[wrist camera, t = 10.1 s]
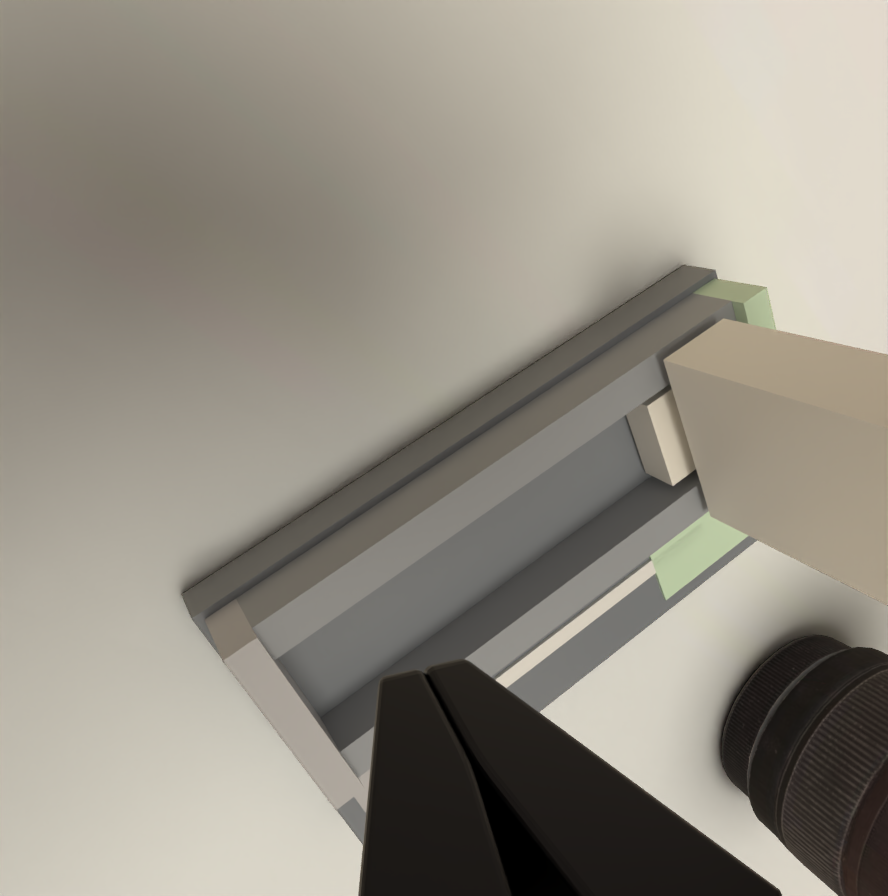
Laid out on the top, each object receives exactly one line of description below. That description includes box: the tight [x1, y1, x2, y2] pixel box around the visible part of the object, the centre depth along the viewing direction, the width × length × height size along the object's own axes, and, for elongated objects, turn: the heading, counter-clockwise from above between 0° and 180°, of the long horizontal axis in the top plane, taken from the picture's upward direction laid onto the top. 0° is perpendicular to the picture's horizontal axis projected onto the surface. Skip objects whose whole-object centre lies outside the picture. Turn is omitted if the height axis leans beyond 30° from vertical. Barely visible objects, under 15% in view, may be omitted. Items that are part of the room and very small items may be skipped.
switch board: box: [181, 265, 776, 844], centre depth 22 cm, size 16×9×3 cm, turn 115°
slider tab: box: [626, 318, 888, 605], centre depth 19 cm, size 3×5×8 cm, turn 25°
